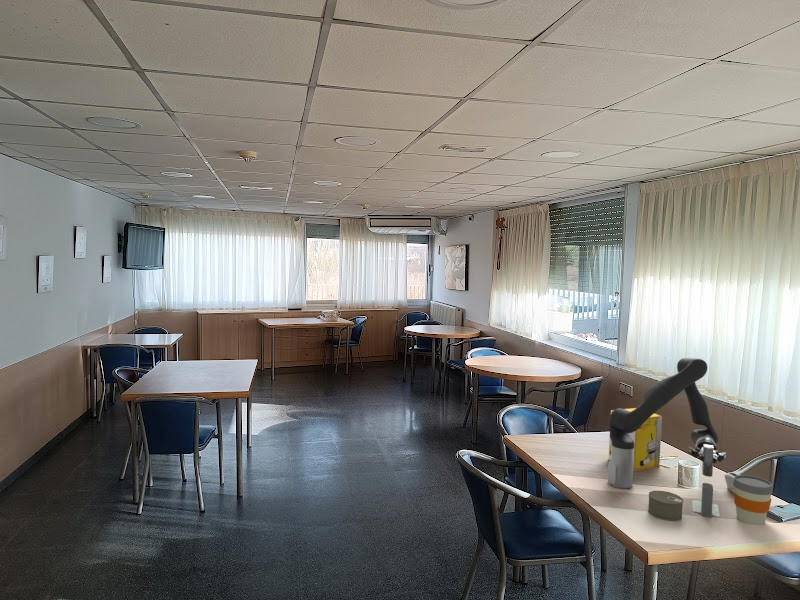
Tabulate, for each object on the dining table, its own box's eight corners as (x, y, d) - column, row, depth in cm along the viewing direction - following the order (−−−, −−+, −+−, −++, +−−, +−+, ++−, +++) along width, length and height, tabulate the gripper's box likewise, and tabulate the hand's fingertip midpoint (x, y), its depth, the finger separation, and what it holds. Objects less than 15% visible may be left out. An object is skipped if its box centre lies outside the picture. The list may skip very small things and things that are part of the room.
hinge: (763, 504, 214) (756, 481, 213) (752, 508, 214) (744, 485, 214) (738, 488, 230) (732, 466, 230) (728, 491, 231) (721, 470, 230)
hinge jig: (692, 500, 216) (693, 474, 216) (717, 505, 212) (719, 478, 212) (693, 513, 204) (694, 486, 203) (720, 519, 200) (721, 491, 199)
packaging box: (659, 467, 254) (662, 416, 253) (633, 471, 248) (636, 418, 247) (633, 455, 269) (635, 407, 268) (608, 459, 263) (610, 410, 262)
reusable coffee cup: (756, 529, 192) (759, 489, 191) (723, 515, 204) (726, 477, 203) (778, 524, 197) (780, 485, 196) (744, 510, 209) (747, 473, 208)
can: (651, 504, 212) (652, 487, 211) (685, 513, 204) (686, 496, 204) (644, 514, 202) (645, 497, 202) (678, 524, 195) (679, 506, 194)
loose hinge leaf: (711, 472, 212) (713, 445, 211) (712, 477, 206) (714, 449, 206) (702, 470, 213) (703, 443, 213) (702, 475, 208) (704, 448, 207)
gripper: (687, 436, 226) (688, 447, 211) (726, 441, 219) (730, 454, 204) (686, 453, 226) (687, 465, 211) (725, 459, 220) (728, 472, 205)
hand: (708, 459), depth 208 cm, fingers closed on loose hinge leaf, 3 cm apart
